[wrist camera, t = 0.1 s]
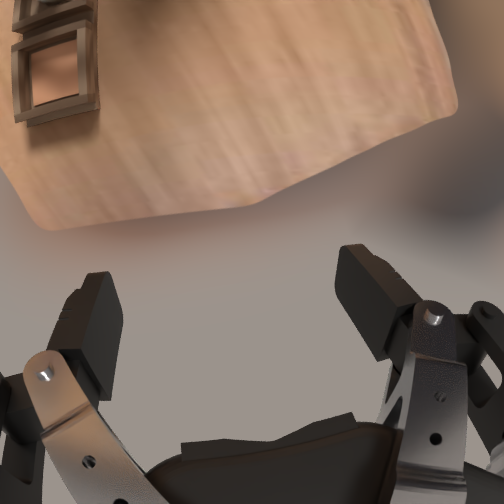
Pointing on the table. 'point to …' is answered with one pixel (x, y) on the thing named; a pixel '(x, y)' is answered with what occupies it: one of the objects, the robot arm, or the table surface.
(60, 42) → the wooden divided tray
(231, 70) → the table surface
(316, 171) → the table surface
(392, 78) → the table surface
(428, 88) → the table surface
